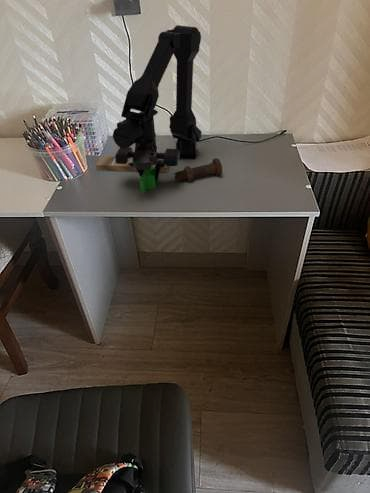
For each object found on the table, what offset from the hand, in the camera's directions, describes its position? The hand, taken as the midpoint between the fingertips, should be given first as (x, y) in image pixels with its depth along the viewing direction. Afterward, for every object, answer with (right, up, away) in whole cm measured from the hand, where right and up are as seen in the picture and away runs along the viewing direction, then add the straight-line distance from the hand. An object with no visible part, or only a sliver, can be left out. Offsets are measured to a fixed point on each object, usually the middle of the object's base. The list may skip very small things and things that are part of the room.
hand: (150, 180), depth 118 cm
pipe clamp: (0, -1, +1) cm, 2 cm away
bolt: (+15, +1, +3) cm, 15 cm away
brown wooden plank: (-6, +6, +9) cm, 13 cm away
